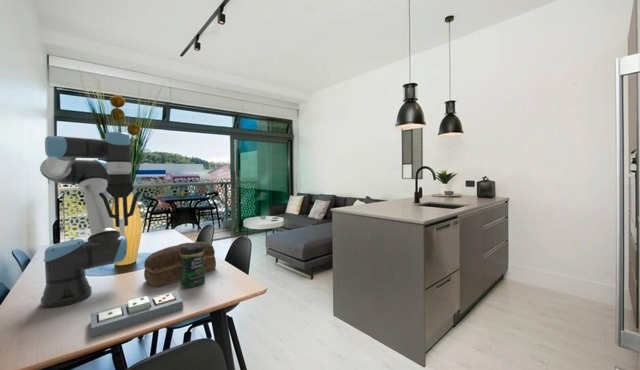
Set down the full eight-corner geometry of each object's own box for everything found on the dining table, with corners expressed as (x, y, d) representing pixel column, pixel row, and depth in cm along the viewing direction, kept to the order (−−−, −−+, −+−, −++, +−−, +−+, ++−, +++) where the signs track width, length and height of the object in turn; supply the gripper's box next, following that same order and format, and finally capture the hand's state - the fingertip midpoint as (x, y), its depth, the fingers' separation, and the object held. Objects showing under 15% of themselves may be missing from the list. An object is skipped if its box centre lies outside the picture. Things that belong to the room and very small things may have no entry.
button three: (156, 310, 96) (156, 303, 96) (153, 304, 101) (153, 297, 101) (175, 304, 100) (174, 297, 100) (171, 299, 105) (171, 292, 105)
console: (91, 337, 82) (90, 328, 82) (91, 321, 91) (90, 313, 91) (183, 308, 99) (182, 300, 99) (175, 297, 108) (175, 290, 108)
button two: (129, 314, 91) (129, 306, 91) (127, 308, 96) (127, 300, 95) (150, 308, 95) (149, 301, 95) (147, 302, 99) (147, 295, 99)
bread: (141, 282, 126) (139, 248, 125) (205, 263, 151) (204, 235, 150) (153, 289, 117) (151, 254, 116) (219, 268, 142) (218, 239, 141)
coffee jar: (186, 290, 115) (185, 248, 114) (178, 285, 120) (176, 245, 119) (208, 283, 123) (206, 243, 122) (199, 279, 128) (198, 240, 127)
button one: (99, 328, 86) (99, 319, 86) (98, 320, 90) (98, 312, 90) (122, 321, 90) (122, 313, 90) (120, 314, 94) (120, 306, 94)
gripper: (97, 173, 94) (100, 239, 95) (141, 173, 102) (143, 233, 104) (97, 173, 100) (100, 235, 101) (138, 173, 108) (141, 230, 109)
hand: (122, 234), depth 102 cm, fingers closed
